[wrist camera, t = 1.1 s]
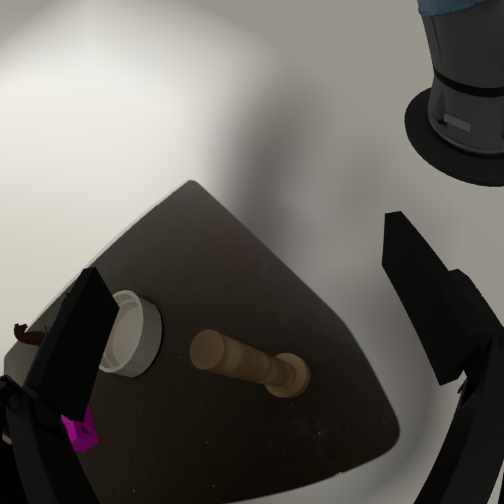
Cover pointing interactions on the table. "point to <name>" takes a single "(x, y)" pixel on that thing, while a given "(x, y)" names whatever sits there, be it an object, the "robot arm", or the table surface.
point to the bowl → (132, 336)
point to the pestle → (250, 364)
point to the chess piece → (29, 335)
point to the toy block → (81, 432)
